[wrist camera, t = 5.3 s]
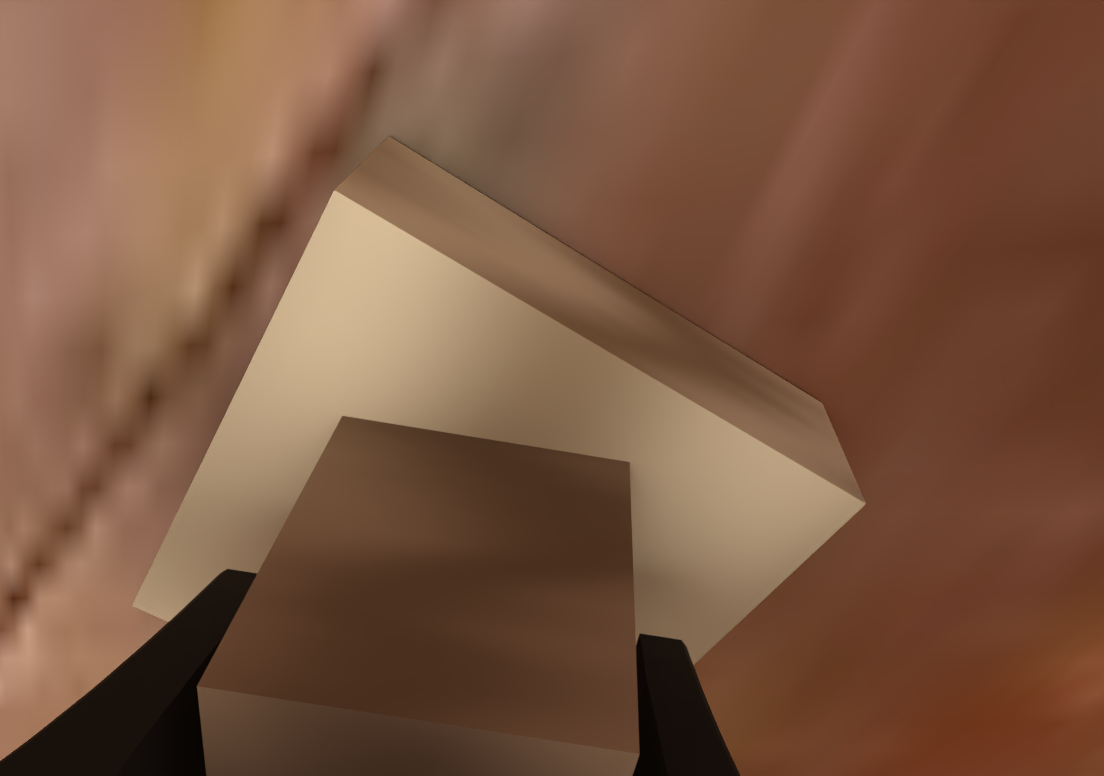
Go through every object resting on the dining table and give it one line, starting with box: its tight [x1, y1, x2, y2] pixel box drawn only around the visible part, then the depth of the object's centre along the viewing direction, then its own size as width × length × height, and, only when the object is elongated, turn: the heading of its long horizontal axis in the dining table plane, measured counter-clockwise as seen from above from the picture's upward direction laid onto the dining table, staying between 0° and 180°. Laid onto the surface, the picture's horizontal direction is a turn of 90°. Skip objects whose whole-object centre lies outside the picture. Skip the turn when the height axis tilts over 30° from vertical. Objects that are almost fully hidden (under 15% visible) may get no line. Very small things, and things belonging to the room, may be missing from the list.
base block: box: [132, 136, 866, 665], centre depth 15 cm, size 9×9×3 cm
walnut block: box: [197, 416, 640, 776], centre depth 11 cm, size 4×4×5 cm
